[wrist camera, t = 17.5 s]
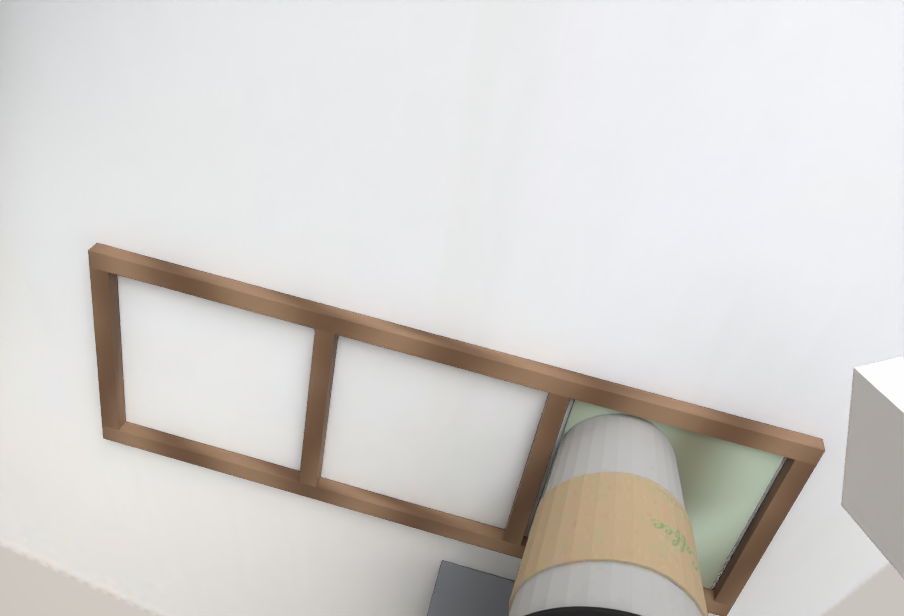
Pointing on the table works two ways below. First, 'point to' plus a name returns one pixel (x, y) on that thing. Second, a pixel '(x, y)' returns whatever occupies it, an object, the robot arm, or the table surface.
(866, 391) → the robot arm
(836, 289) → the table surface
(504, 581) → the die
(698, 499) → the wooden frame
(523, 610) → the coffee cup
